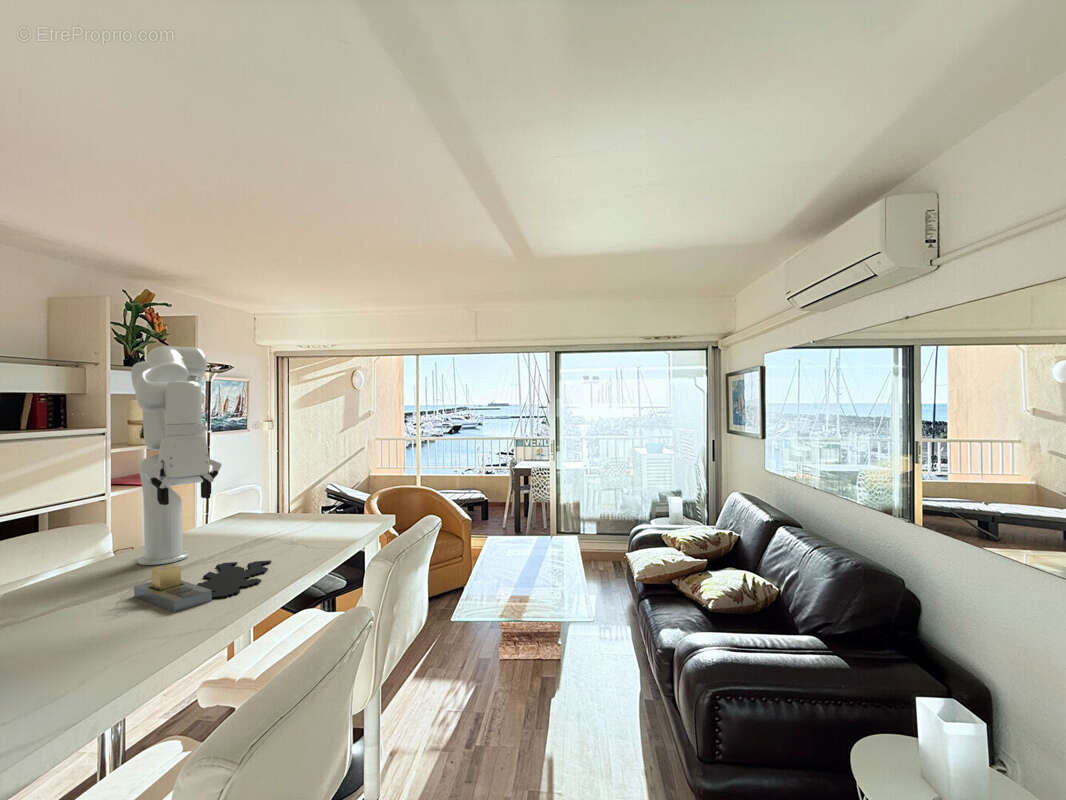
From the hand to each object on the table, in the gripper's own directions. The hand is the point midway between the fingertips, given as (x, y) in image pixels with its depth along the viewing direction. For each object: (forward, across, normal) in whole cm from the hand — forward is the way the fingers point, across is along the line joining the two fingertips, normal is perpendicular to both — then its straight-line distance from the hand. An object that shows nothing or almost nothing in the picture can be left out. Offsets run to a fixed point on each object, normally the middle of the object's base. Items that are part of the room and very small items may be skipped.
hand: (185, 501), depth 133 cm
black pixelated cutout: (+23, -12, -1) cm, 26 cm away
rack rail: (+23, +3, 0) cm, 23 cm away
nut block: (+23, +3, -3) cm, 23 cm away
